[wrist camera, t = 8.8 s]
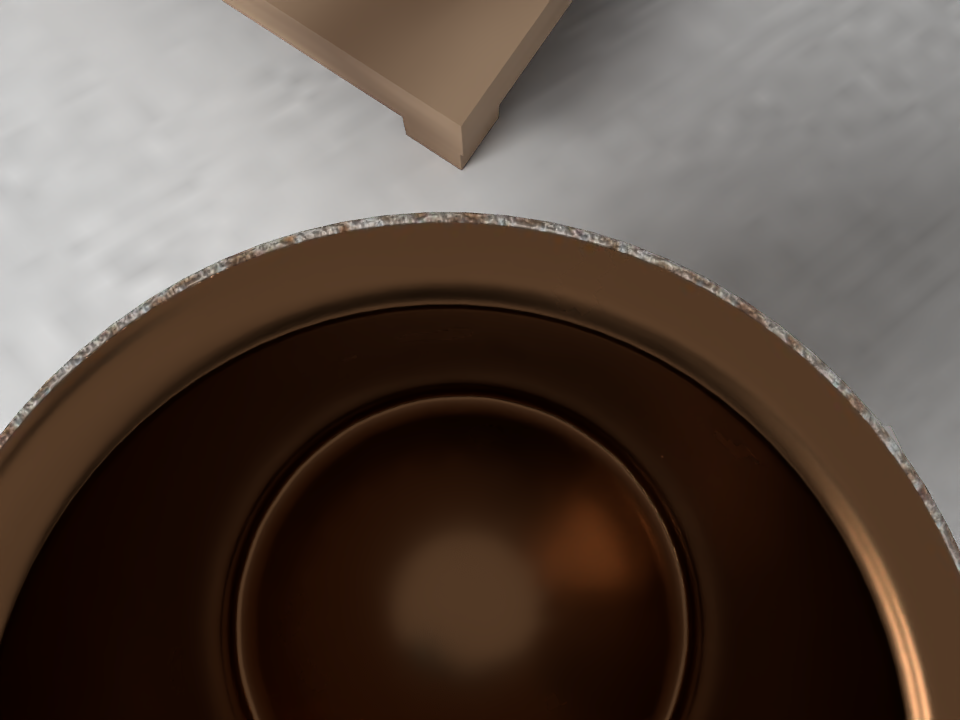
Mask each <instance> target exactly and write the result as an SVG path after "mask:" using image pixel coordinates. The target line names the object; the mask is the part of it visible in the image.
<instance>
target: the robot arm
mask: <svg viewBox="0 0 960 720" xmlns="http://www.w3.org/2000/svg"><path fill="white" fill-rule="evenodd" d="M882 426H883V427H884V428H885V430H886V431H887V432H888V433H889V435H890V436H891V437H892V439H893V440H894V441H895V442H896V444H897V445H898V446H899V448H900V449H901V450H902V448H901V446H900V444H899V442H898V440H897V438H896V436H895V434H894V431H893V429H892V427H891V426H885V425H882ZM902 452H903V451H902Z"/></svg>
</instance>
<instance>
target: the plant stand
mask: <svg viewBox="0 0 960 720" xmlns="http://www.w3.org/2000/svg"><path fill="white" fill-rule="evenodd" d="M222 1H224V2H225V3H227V4H228V5H230V6H231V7H233V8H234V9H236V10H238V11H239V12H241V13H242V14H244V15H245V16H247V17H248V18H250V19H251V20H253V21H255V22H256V23H258V24H259V25H261V26H262V27H264V28H265V29H267V30H269V31H270V32H272V33H273V34H275V35H276V36H278V37H279V38H281V39H282V40H284V41H286V42H287V43H289V44H290V45H292V46H293V47H295V48H296V49H298V50H300V51H301V52H303V53H304V54H306V55H307V56H309V57H310V58H312V59H313V60H315V61H317V62H318V63H320V64H321V65H323V66H324V67H326V68H327V69H329V70H331V71H332V72H334V73H335V74H337V75H338V76H340V77H341V78H343V79H344V80H346V81H348V82H349V83H351V84H352V85H354V86H355V87H357V88H358V89H360V90H361V91H363V92H365V93H366V94H368V95H369V96H371V97H372V98H374V99H375V100H377V101H379V102H380V103H382V104H383V105H385V106H386V107H388V108H389V109H391V110H392V111H394V112H396V113H397V114H399V115H400V116H402V117H403V122H404V126H405V130H406V135H408V136H409V137H411V138H412V139H414V140H416V141H417V142H419V143H420V144H422V145H423V146H425V147H426V148H428V149H429V150H431V151H433V152H434V153H436V154H437V155H439V156H440V157H442V158H443V159H445V160H446V161H448V162H450V163H451V164H453V165H454V166H456V167H457V168H459V169H460V170H462V169H463V167H464V166H465V165H466V163H467V162H468V160H469V159H470V157H471V156H472V155H473V153H474V152H475V150H476V149H477V147H478V146H479V145H480V143H481V142H482V140H483V139H484V137H485V136H486V135H487V133H488V132H489V130H490V129H491V128H492V126H493V125H494V123H495V122H496V120H497V119H498V118H499V105H500V103H501V102H502V100H503V99H504V98H505V96H506V95H507V93H508V92H509V90H510V89H511V88H512V86H513V85H514V83H515V82H516V81H517V79H518V78H519V76H520V75H521V73H522V72H523V71H524V69H525V68H526V66H527V65H528V63H529V62H530V61H531V59H532V58H533V56H534V55H535V54H536V52H537V51H538V49H539V48H540V46H541V45H542V44H543V42H544V41H545V39H546V38H547V36H548V35H549V34H550V32H551V31H552V29H553V28H554V27H555V25H556V24H557V22H558V21H559V19H560V18H561V17H562V15H563V14H564V12H565V11H566V9H567V8H568V7H569V5H570V4H571V2H572V1H573V0H222Z"/></svg>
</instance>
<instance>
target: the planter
mask: <svg viewBox="0 0 960 720" xmlns="http://www.w3.org/2000/svg"><path fill="white" fill-rule="evenodd" d="M0 720H960V551H959V549H958V546H957V544H956V542H955V540H954V538H953V536H952V534H951V532H950V529H949V527H948V525H947V523H946V522H945V520H944V518H943V516H942V515H941V513H940V511H939V509H938V508H937V506H936V504H935V502H934V500H933V499H932V497H931V495H930V493H929V492H928V490H927V488H926V486H925V485H924V483H923V482H922V480H921V479H920V477H919V476H918V474H917V473H916V471H915V470H914V468H913V467H912V465H911V464H910V462H909V461H908V459H907V458H906V456H905V455H904V453H903V452H902V450H901V449H900V448H899V446H898V445H897V444H896V442H895V441H894V440H893V439H892V437H891V436H890V435H889V433H888V432H887V431H886V430H885V428H884V427H883V426H882V425H881V423H880V422H879V421H878V419H877V418H876V417H875V416H874V414H873V413H872V412H871V411H870V410H869V409H868V408H867V407H866V405H865V404H864V403H863V402H862V401H861V400H860V399H859V398H858V397H857V396H856V394H855V393H854V392H853V391H852V390H851V389H850V388H849V387H848V386H847V385H846V383H845V382H844V381H843V380H842V379H841V378H840V377H838V376H837V375H836V374H835V373H834V372H833V371H832V370H831V369H830V368H829V367H828V366H827V365H826V364H825V363H824V362H823V361H822V360H820V359H819V358H818V357H817V356H816V355H815V354H814V353H813V352H812V351H811V350H810V349H808V348H807V347H806V346H805V345H803V344H802V343H801V342H800V341H799V340H797V339H796V338H795V337H794V336H792V335H791V334H790V333H789V332H787V331H786V330H785V329H784V328H783V327H781V326H780V325H779V324H777V323H776V322H775V321H773V320H772V319H770V318H769V317H767V316H766V315H765V314H763V313H762V312H760V311H759V310H757V309H756V308H754V307H753V306H752V305H750V304H749V303H747V302H746V301H744V300H743V299H741V298H739V297H738V296H736V295H734V294H733V293H731V292H729V291H728V290H726V289H724V288H723V287H721V286H719V285H717V284H716V283H714V282H712V281H711V280H709V279H707V278H705V277H703V276H701V275H699V274H697V273H695V272H693V271H691V270H689V269H687V268H685V267H683V266H681V265H679V264H677V263H675V262H673V261H671V260H669V259H666V258H664V257H661V256H659V255H656V254H654V253H651V252H649V251H646V250H644V249H641V248H639V247H636V246H634V245H631V244H628V243H625V242H622V241H619V240H616V239H612V238H609V237H606V236H603V235H600V234H597V233H593V232H590V231H586V230H582V229H577V228H573V227H569V226H565V225H560V224H556V223H552V222H547V221H540V220H534V219H527V218H521V217H514V216H507V215H494V214H481V213H467V212H424V213H411V214H398V215H385V216H378V217H371V218H365V219H358V220H352V221H345V222H340V223H336V224H331V225H327V226H323V227H318V228H314V229H310V230H306V231H301V232H298V233H295V234H292V235H289V236H286V237H282V238H279V239H276V240H273V241H270V242H266V243H263V244H260V245H258V246H255V247H253V248H250V249H248V250H245V251H243V252H240V253H238V254H235V255H233V256H230V257H228V258H225V259H223V260H221V261H219V262H217V263H215V264H213V265H210V266H208V267H206V268H204V269H202V270H200V271H198V272H196V273H194V274H192V275H190V276H188V277H186V278H184V279H182V280H181V281H179V282H177V283H175V284H174V285H172V286H170V287H169V288H167V289H165V290H164V291H162V292H160V293H158V294H157V295H155V296H153V297H152V298H150V299H148V300H147V301H145V302H144V303H142V304H141V305H139V306H138V307H137V308H135V309H134V310H132V311H131V312H129V313H128V314H126V315H125V316H124V317H122V318H121V319H119V320H118V321H116V322H115V323H113V324H112V325H111V326H110V327H108V328H107V329H106V330H105V331H103V332H102V333H101V334H100V335H98V336H97V337H96V338H95V339H93V340H92V341H91V342H90V343H88V344H87V345H86V346H85V347H83V348H82V349H81V350H80V351H79V352H77V353H76V354H75V355H74V356H73V357H72V358H71V359H70V360H69V361H68V362H67V363H66V364H65V365H64V366H63V367H61V368H60V369H59V370H58V371H57V372H56V373H55V374H54V375H53V376H52V377H51V378H50V379H49V380H48V381H47V382H46V383H45V384H44V385H43V386H42V387H41V388H40V389H39V390H38V391H37V392H36V394H35V395H34V396H33V397H32V398H31V399H30V400H29V401H28V402H27V403H26V404H25V406H24V407H23V408H22V409H21V410H20V411H19V412H18V413H17V414H16V416H15V417H14V418H13V419H12V421H11V422H10V423H9V424H8V426H7V427H6V428H5V430H4V431H3V432H2V433H1V435H0Z"/></svg>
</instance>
